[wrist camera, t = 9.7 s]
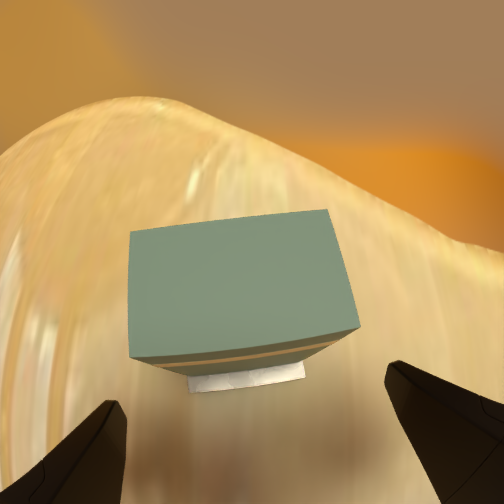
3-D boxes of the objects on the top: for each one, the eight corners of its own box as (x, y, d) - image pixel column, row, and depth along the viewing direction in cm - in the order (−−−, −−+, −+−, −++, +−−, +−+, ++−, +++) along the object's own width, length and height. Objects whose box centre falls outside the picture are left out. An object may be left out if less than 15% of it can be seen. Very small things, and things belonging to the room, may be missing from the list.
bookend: (304, 377, 17) (326, 372, 12) (190, 392, 16) (170, 393, 11) (284, 272, 20) (296, 235, 15) (180, 285, 19) (162, 251, 15)
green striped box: (299, 362, 17) (361, 326, 8) (191, 376, 16) (129, 357, 7) (287, 300, 18) (327, 208, 9) (184, 313, 18) (129, 231, 9)
